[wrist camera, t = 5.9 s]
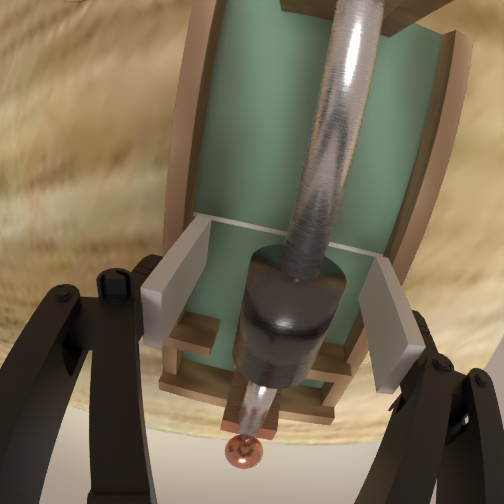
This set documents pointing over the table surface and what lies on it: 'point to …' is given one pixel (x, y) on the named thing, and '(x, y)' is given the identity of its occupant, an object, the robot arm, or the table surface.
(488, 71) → the table surface
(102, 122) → the table surface
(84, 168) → the table surface
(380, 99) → the pitch
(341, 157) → the kicker
